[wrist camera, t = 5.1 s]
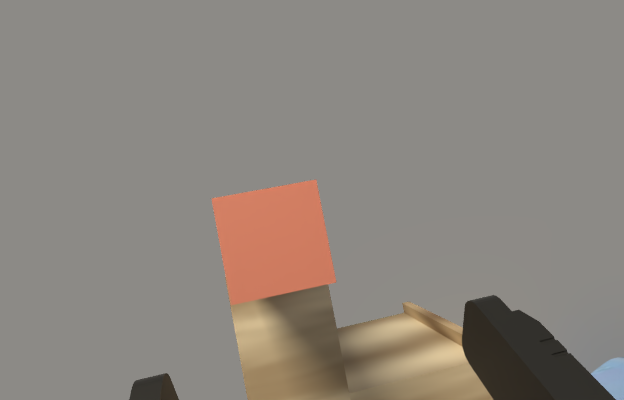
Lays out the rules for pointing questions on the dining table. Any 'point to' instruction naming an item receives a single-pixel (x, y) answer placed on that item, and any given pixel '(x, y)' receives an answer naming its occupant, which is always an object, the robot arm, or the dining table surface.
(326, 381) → the stand
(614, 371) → the dining table surface
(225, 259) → the block
